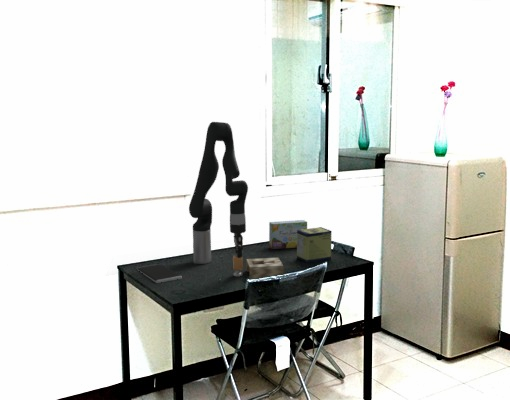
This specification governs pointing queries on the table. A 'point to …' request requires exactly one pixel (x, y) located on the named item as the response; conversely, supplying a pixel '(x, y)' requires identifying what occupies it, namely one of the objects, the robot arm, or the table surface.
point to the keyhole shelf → (264, 267)
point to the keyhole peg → (237, 266)
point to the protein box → (313, 244)
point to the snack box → (285, 233)
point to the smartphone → (159, 273)
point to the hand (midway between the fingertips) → (238, 255)
